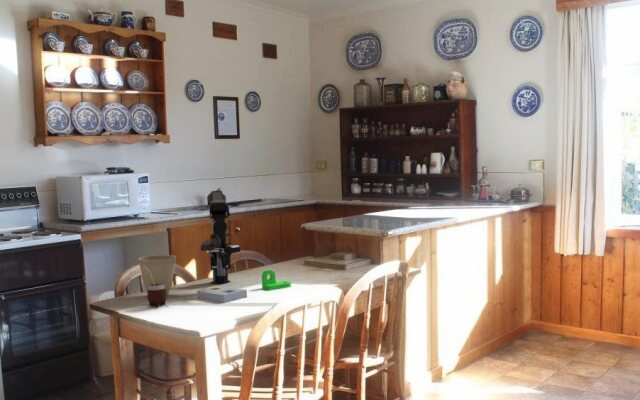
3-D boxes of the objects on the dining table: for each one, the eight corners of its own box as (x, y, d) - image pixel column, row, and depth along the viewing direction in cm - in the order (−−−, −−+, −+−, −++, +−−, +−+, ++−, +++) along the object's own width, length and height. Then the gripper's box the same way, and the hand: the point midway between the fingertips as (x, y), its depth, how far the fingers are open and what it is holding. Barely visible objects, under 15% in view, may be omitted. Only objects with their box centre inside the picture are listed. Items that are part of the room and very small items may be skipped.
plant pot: (158, 301, 260) (156, 261, 259) (132, 297, 268) (130, 259, 267) (185, 293, 273) (183, 255, 272) (159, 291, 281) (158, 254, 280)
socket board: (197, 298, 263) (196, 290, 263) (219, 292, 272) (219, 285, 272) (224, 302, 253) (224, 294, 253) (246, 297, 262) (246, 289, 262)
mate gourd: (167, 306, 250) (165, 267, 249) (145, 308, 248) (143, 268, 247) (166, 302, 257) (164, 264, 256) (145, 304, 255) (143, 266, 254)
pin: (215, 275, 276) (214, 252, 276) (221, 274, 279) (220, 251, 278) (221, 276, 274) (220, 252, 274) (226, 275, 277) (225, 251, 276)
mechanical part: (269, 290, 274) (268, 272, 274) (262, 288, 279) (261, 270, 279) (293, 287, 281) (293, 268, 281) (286, 285, 286) (285, 266, 286)
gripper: (190, 232, 275) (191, 269, 276) (220, 234, 264) (221, 273, 264) (210, 229, 284) (211, 265, 285) (240, 231, 272) (241, 269, 273)
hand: (221, 268), depth 277 cm, fingers closed on pin, 3 cm apart
